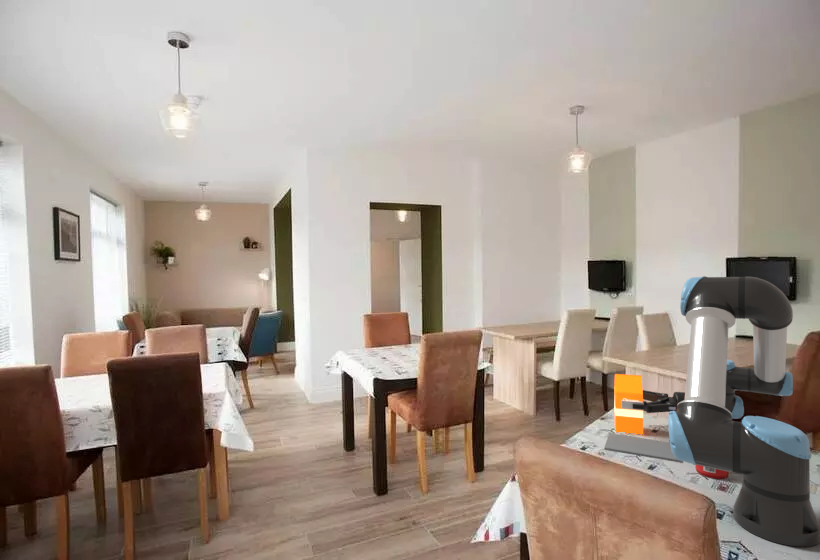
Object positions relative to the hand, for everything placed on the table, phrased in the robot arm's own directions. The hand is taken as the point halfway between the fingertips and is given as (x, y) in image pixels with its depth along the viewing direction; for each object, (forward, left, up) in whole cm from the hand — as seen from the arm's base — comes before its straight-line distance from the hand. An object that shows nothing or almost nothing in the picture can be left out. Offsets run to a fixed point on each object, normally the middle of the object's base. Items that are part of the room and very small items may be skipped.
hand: (619, 398), depth 161 cm
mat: (-15, -8, -11) cm, 20 cm away
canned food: (-26, -26, -11) cm, 38 cm away
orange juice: (0, -3, -11) cm, 12 cm away
